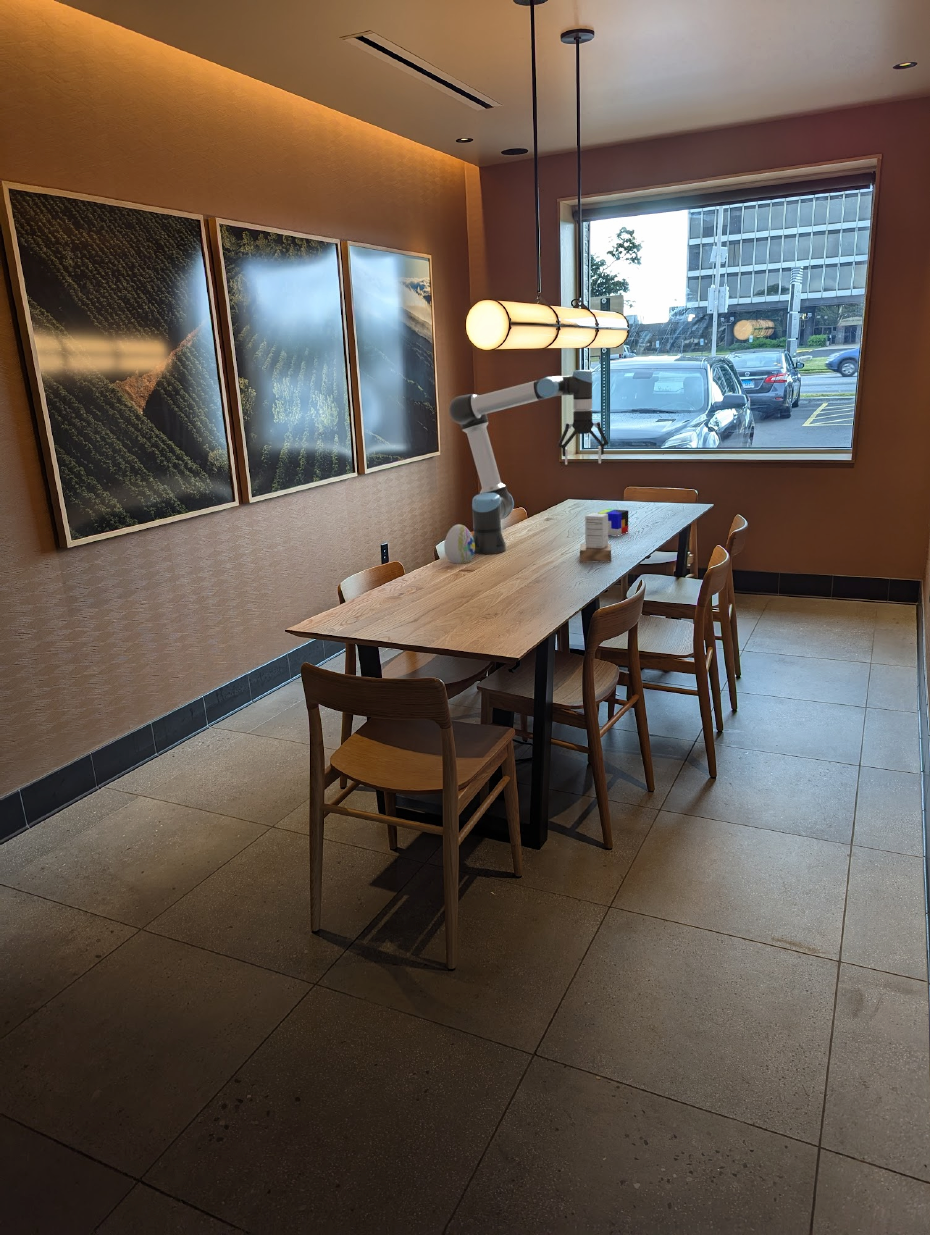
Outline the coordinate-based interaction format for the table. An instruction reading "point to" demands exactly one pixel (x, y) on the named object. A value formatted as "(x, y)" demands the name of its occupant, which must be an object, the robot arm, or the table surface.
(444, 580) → the table surface
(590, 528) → the supplement box
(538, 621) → the table surface
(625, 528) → the puzzle toy
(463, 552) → the decorative egg
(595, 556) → the walnut box
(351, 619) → the table surface
